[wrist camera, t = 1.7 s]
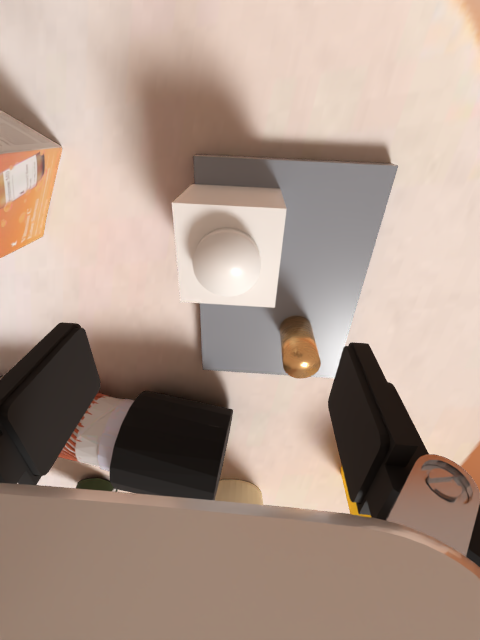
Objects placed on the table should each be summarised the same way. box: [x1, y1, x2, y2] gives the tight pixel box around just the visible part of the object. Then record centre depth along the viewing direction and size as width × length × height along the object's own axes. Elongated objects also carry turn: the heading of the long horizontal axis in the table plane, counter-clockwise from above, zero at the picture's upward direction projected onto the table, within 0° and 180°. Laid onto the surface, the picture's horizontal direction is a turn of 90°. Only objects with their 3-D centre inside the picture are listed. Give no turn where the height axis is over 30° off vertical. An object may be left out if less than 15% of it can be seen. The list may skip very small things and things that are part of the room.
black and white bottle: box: [0, 378, 233, 500], centre depth 34 cm, size 10×34×10 cm
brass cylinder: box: [279, 316, 321, 378], centre depth 26 cm, size 3×3×5 cm
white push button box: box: [172, 184, 287, 308], centre depth 20 cm, size 6×6×7 cm
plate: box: [193, 154, 398, 378], centre depth 27 cm, size 20×14×1 cm
